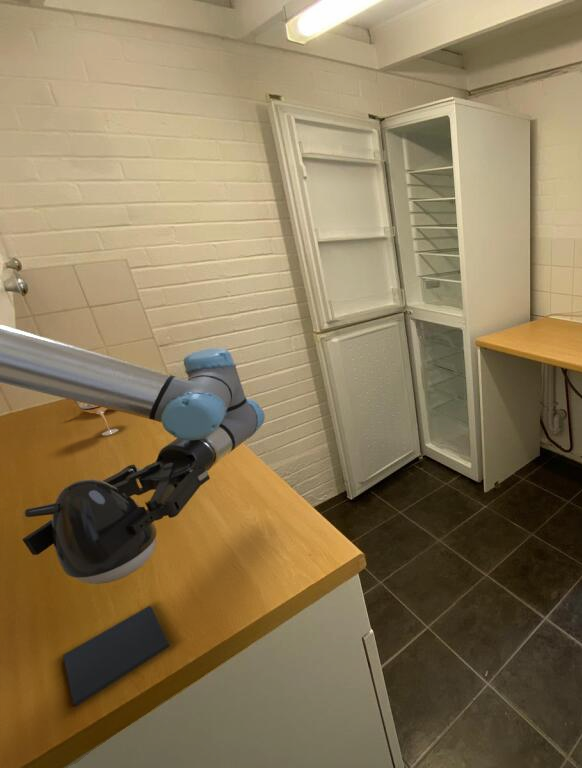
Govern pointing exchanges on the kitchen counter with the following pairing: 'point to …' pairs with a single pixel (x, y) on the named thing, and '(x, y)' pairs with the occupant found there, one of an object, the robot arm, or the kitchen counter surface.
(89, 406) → the wineglass
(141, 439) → the kitchen counter surface
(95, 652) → the mat
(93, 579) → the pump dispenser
